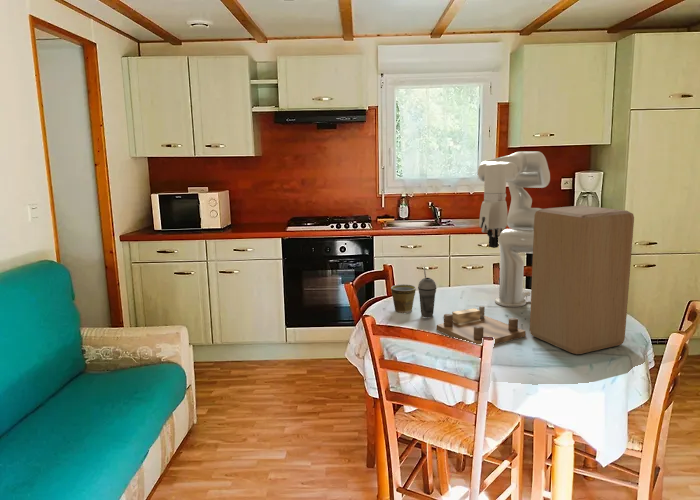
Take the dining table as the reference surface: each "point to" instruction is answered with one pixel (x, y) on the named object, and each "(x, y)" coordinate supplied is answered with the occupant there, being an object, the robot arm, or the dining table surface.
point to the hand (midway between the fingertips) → (493, 247)
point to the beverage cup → (427, 296)
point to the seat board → (487, 331)
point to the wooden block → (581, 277)
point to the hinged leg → (466, 315)
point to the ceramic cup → (403, 297)
